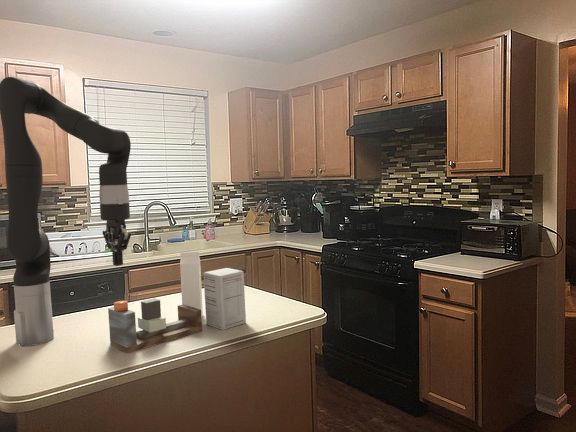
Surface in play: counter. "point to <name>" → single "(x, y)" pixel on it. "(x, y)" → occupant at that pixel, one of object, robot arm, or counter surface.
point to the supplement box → (224, 298)
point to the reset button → (121, 306)
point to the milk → (191, 280)
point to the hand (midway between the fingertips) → (118, 265)
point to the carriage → (151, 316)
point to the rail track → (172, 333)
